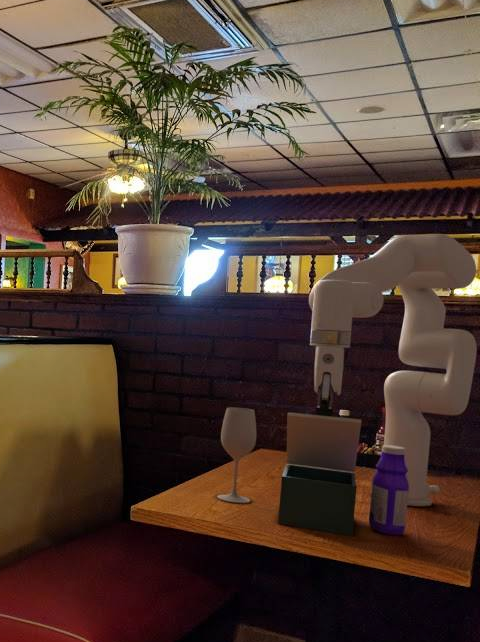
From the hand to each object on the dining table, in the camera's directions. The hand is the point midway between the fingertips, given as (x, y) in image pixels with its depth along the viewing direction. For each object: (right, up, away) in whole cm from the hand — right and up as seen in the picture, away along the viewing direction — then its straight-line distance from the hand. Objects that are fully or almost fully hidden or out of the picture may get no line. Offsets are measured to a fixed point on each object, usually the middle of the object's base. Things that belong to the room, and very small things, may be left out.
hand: (322, 427), depth 156 cm
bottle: (+11, -21, -4) cm, 24 cm away
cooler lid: (+1, -4, +2) cm, 4 cm away
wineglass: (-13, -19, +16) cm, 28 cm away
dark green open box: (-1, -20, +1) cm, 20 cm away
